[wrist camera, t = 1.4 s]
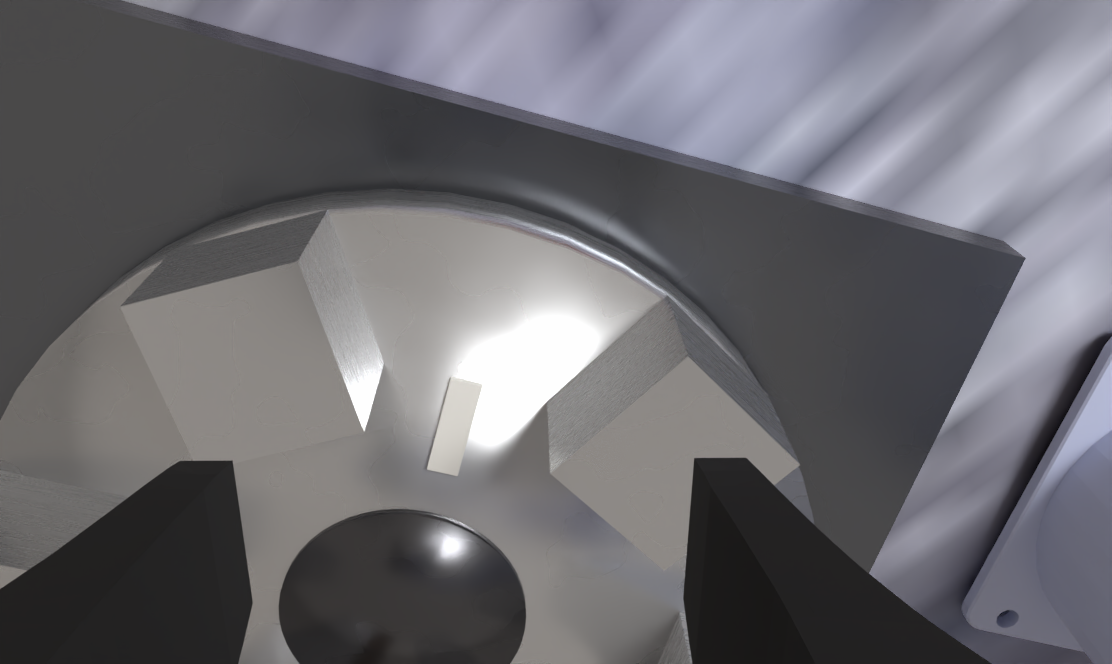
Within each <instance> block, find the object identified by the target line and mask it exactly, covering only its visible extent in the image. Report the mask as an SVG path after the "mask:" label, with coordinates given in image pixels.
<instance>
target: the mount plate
mask: <svg viewBox="0 0 1112 664" xmlns="http://www.w3.org/2000/svg"><path fill="white" fill-rule="evenodd" d="M374 189H403V190H419V191H434V192H449V193H455V194H460V195H465V196H470V197H476V198H481V199H486V200H491V201H496V202H501V203H507V204H511V205H514V206H517V207H520V208H523V209H526V210H529V211H532V212H535V213H538V214H541V215H544V216H547V217H550V218H553V219H556V220H560V221H563V222H566V223H568V224H570V225H572V226H574V227H576V228H578V229H580V230H582V231H585V232H587V233H589V234H591V235H593V236H595V237H597V238H599V239H601V240H603V241H606V242H608V243H610V244H612V245H614V246H616V247H618V248H620V249H621V250H623V251H624V252H626V253H627V254H629V255H630V256H632V257H633V258H635V259H637V260H638V261H640V262H641V263H643V264H644V265H646V266H647V267H649V268H650V269H652V270H653V271H655V272H657V273H658V274H660V275H661V276H663V277H664V278H665V279H667V280H668V281H669V282H670V283H671V284H672V285H674V286H675V287H676V288H677V289H678V290H679V291H681V292H682V293H683V294H684V295H685V296H686V297H687V298H689V299H690V300H691V301H692V302H693V303H694V304H696V305H697V306H698V307H699V308H700V309H701V310H703V311H704V312H705V313H706V314H707V315H708V317H709V318H710V319H711V320H712V321H713V322H714V323H715V325H716V326H717V327H718V328H719V329H720V330H721V332H722V333H723V334H724V335H725V336H726V337H727V338H728V340H729V341H730V342H731V343H732V344H733V345H734V346H735V348H736V349H737V350H738V351H739V353H740V354H741V356H742V357H743V359H744V360H745V362H746V363H747V365H748V367H749V368H750V370H751V371H752V373H753V374H754V376H755V377H756V379H757V381H758V382H759V384H760V385H761V387H762V388H763V390H764V391H765V392H766V393H767V394H768V396H769V399H770V401H771V403H772V405H773V407H774V409H775V411H776V414H777V416H778V418H779V420H780V422H781V424H782V426H783V429H784V431H785V433H786V435H787V437H788V439H789V442H790V444H791V446H792V448H793V450H794V452H795V454H796V457H797V459H798V461H799V463H800V465H799V468H800V471H801V473H802V476H803V480H804V484H805V488H806V491H807V495H808V499H809V503H810V507H811V510H812V514H813V518H814V525H815V526H816V527H817V528H818V529H819V530H820V531H821V532H822V533H824V534H825V535H826V536H827V537H828V538H829V539H830V540H831V541H832V542H833V543H834V544H835V545H837V546H838V547H839V548H840V549H841V550H842V551H843V552H844V553H846V554H847V555H848V556H849V557H850V558H851V559H852V560H853V561H855V562H856V563H857V564H858V565H859V566H860V567H862V568H863V569H864V570H865V571H866V572H867V573H869V572H870V570H871V568H872V566H873V564H874V562H875V560H876V558H877V556H878V554H879V552H880V550H881V548H882V546H883V544H884V542H885V540H886V538H887V536H888V534H889V532H890V530H891V528H892V526H893V524H894V522H895V520H896V517H897V515H898V513H899V511H900V509H901V507H902V505H903V503H904V501H905V499H906V497H907V495H908V493H909V491H910V489H911V487H912V485H913V483H914V481H915V479H916V477H917V475H918V473H919V471H920V469H921V467H922V465H923V463H924V461H925V459H926V457H927V455H928V453H929V451H930V449H931V447H932V445H933V443H934V441H935V439H936V437H937V435H938V433H939V431H940V429H941V427H942V425H943V423H944V421H945V419H946V417H947V415H948V413H949V411H950V409H951V407H952V405H953V403H954V401H955V399H956V397H957V395H958V393H959V391H960V389H961V387H962V385H963V383H964V381H965V379H966V377H967V375H968V373H969V371H970V369H971V367H972V365H973V363H974V361H975V359H976V357H977V355H978V353H979V351H980V349H981V347H982V345H983V343H984V341H985V339H986V337H987V335H988V333H989V331H990V329H991V327H992V325H993V323H994V321H995V319H996V317H997V315H998V313H999V311H1000V309H1001V306H1002V304H1003V302H1004V300H1005V298H1006V296H1007V294H1008V292H1009V290H1010V288H1011V286H1012V284H1013V282H1014V280H1015V278H1016V276H1017V274H1018V272H1019V270H1020V268H1021V266H1022V264H1023V262H1024V260H1025V257H1023V256H1022V255H1021V254H1019V253H1018V252H1017V251H1016V250H1014V249H1013V248H1012V247H1010V246H1009V245H1008V244H1006V243H1005V242H1004V241H1001V240H997V239H994V238H990V237H986V236H983V235H979V234H975V233H972V232H968V231H964V230H961V229H957V228H953V227H950V226H946V225H942V224H939V223H935V222H931V221H928V220H924V219H920V218H917V217H913V216H909V215H906V214H902V213H898V212H895V211H891V210H887V209H884V208H880V207H876V206H873V205H869V204H865V203H862V202H858V201H854V200H851V199H847V198H843V197H840V196H836V195H832V194H829V193H825V192H821V191H818V190H814V189H810V188H807V187H803V186H799V185H796V184H792V183H788V182H785V181H781V180H777V179H774V178H770V177H766V176H763V175H759V174H755V173H752V172H748V171H744V170H741V169H737V168H733V167H730V166H726V165H722V164H719V163H715V162H711V161H708V160H704V159H700V158H697V157H693V156H689V155H686V154H682V153H678V152H675V151H671V150H667V149H664V148H660V147H656V146H653V145H649V144H645V143H642V142H638V141H634V140H631V139H627V138H623V137H620V136H616V135H612V134H609V133H605V132H601V131H598V130H594V129H590V128H587V127H583V126H579V125H576V124H572V123H568V122H565V121H561V120H557V119H554V118H550V117H546V116H543V115H539V114H535V113H532V112H528V111H524V110H521V109H517V108H513V107H510V106H506V105H502V104H499V103H495V102H491V101H488V100H484V99H480V98H477V97H473V96H469V95H466V94H462V93H458V92H455V91H451V90H447V89H444V88H440V87H436V86H433V85H429V84H425V83H422V82H418V81H414V80H411V79H407V78H403V77H400V76H396V75H392V74H389V73H385V72H381V71H378V70H374V69H370V68H367V67H363V66H359V65H356V64H352V63H348V62H345V61H341V60H337V59H334V58H330V57H326V56H323V55H319V54H315V53H312V52H308V51H304V50H301V49H297V48H293V47H290V46H286V45H282V44H279V43H275V42H271V41H268V40H264V39H260V38H257V37H253V36H249V35H246V34H242V33H238V32H235V31H231V30H227V29H224V28H220V27H216V26H213V25H209V24H205V23H202V22H198V21H194V20H191V19H187V18H183V17H180V16H176V15H172V14H169V13H165V12H161V11H158V10H154V9H150V8H147V7H143V6H139V5H136V4H132V3H128V2H125V1H121V0H0V420H1V418H2V416H3V414H4V412H5V410H6V408H7V407H8V405H9V403H10V401H11V399H12V397H13V395H14V393H15V391H16V389H17V388H18V387H19V385H20V384H21V383H22V381H23V380H24V379H25V377H26V376H27V375H28V373H29V372H30V371H31V369H32V368H33V367H34V366H35V364H36V363H37V362H38V360H39V359H40V358H41V356H42V355H43V354H44V352H45V351H46V350H47V349H48V347H49V346H50V345H51V344H52V343H53V342H54V341H55V340H56V339H57V338H58V337H59V336H60V335H61V334H62V333H63V332H64V331H65V330H66V329H67V328H68V327H69V326H70V325H71V324H72V323H73V322H74V321H75V320H76V319H77V318H78V317H79V316H80V315H81V314H82V313H83V312H84V311H85V310H86V309H88V308H89V307H90V306H91V305H92V304H93V303H94V302H95V301H96V300H97V299H98V298H99V297H100V296H101V295H102V294H103V293H104V292H105V291H107V290H108V289H109V288H110V287H111V286H112V285H113V284H114V283H115V282H116V281H117V280H118V279H119V278H120V277H122V276H123V275H125V274H126V273H128V272H129V271H131V270H132V269H133V268H135V267H136V266H138V265H139V264H141V263H142V262H144V261H145V260H146V259H148V258H149V257H151V256H152V255H154V254H155V253H157V252H158V251H159V250H161V249H162V248H164V247H165V246H167V245H169V244H171V243H174V242H176V241H178V240H180V239H182V238H184V237H186V236H188V235H190V234H192V233H194V232H196V231H198V230H200V229H202V228H204V227H206V226H208V225H210V224H212V223H214V222H216V221H219V220H222V219H225V218H228V217H231V216H234V215H237V214H240V213H243V212H246V211H249V210H252V209H255V208H258V207H261V206H264V205H267V204H270V203H275V202H281V201H286V200H291V199H296V198H301V197H307V196H312V195H317V194H322V193H327V192H341V191H358V190H374Z"/></svg>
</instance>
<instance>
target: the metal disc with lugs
mask: <svg viewBox="0 0 1112 664" xmlns="http://www.w3.org/2000/svg"><path fill="white" fill-rule="evenodd" d="M694 458H747V459H748V460H749V461H750V462H751V463H752V464H753V465H754V466H755V467H756V468H757V469H758V470H759V471H760V472H761V473H762V474H763V475H764V476H765V477H766V478H767V479H768V480H769V481H770V482H771V483H772V484H773V485H774V486H775V487H776V488H777V489H778V490H779V491H780V492H781V493H782V494H783V495H784V496H785V497H786V498H787V499H788V500H789V501H790V502H791V503H792V504H793V505H794V506H795V507H796V508H797V509H798V510H799V511H800V512H801V513H803V514H804V515H805V516H806V517H807V518H808V519H809V520H810V521H811V522H812V523H813V524H814V518H813V514H812V510H811V507H810V503H809V499H808V495H807V491H806V488H805V484H804V480H803V476H802V473H801V471H800V468H799V465H800V463H799V461H798V459H797V457H796V454H795V452H794V450H793V448H792V446H791V444H790V442H789V439H788V437H787V435H786V433H785V431H784V429H783V426H782V424H781V422H780V420H779V418H778V416H777V414H776V411H775V409H774V407H773V405H772V403H771V401H770V399H769V396H768V394H767V393H766V392H765V391H764V390H763V388H762V387H761V385H760V384H759V382H758V381H757V379H756V377H755V376H754V374H753V373H752V371H751V370H750V368H749V367H748V365H747V363H746V362H745V360H744V359H743V357H742V356H741V354H740V353H739V351H738V350H737V349H736V348H735V346H734V345H733V344H732V343H731V342H730V341H729V340H728V338H727V337H726V336H725V335H724V334H723V333H722V332H721V330H720V329H719V328H718V327H717V326H716V325H715V323H714V322H713V321H712V320H711V319H710V318H709V317H708V315H707V314H706V313H705V312H704V311H703V310H701V309H700V308H699V307H698V306H697V305H696V304H694V303H693V302H692V301H691V300H690V299H689V298H687V297H686V296H685V295H684V294H683V293H682V292H681V291H679V290H678V289H677V288H676V287H675V286H674V285H672V284H671V283H670V282H669V281H668V280H667V279H665V278H664V277H663V276H661V275H660V274H658V273H657V272H655V271H653V270H652V269H650V268H649V267H647V266H646V265H644V264H643V263H641V262H640V261H638V260H637V259H635V258H633V257H632V256H630V255H629V254H627V253H626V252H624V251H623V250H621V249H620V248H618V247H616V246H614V245H612V244H610V243H608V242H606V241H603V240H601V239H599V238H597V237H595V236H593V235H591V234H589V233H587V232H585V231H582V230H580V229H578V228H576V227H574V226H572V225H570V224H568V223H566V222H563V221H560V220H556V219H553V218H550V217H547V216H544V215H541V214H538V213H535V212H532V211H529V210H526V209H523V208H520V207H517V206H514V205H511V204H507V203H501V202H496V201H491V200H486V199H481V198H476V197H470V196H465V195H460V194H455V193H449V192H434V191H419V190H403V189H374V190H358V191H341V192H327V193H322V194H317V195H312V196H307V197H301V198H296V199H291V200H286V201H281V202H275V203H270V204H267V205H264V206H261V207H258V208H255V209H252V210H249V211H246V212H243V213H240V214H237V215H234V216H231V217H228V218H225V219H222V220H219V221H216V222H214V223H212V224H210V225H208V226H206V227H204V228H202V229H200V230H198V231H196V232H194V233H192V234H190V235H188V236H186V237H184V238H182V239H180V240H178V241H176V242H174V243H171V244H169V245H167V246H165V247H164V248H162V249H161V250H159V251H158V252H157V253H155V254H154V255H152V256H151V257H149V258H148V259H146V260H145V261H144V262H142V263H141V264H139V265H138V266H136V267H135V268H133V269H132V270H131V271H129V272H128V273H126V274H125V275H123V276H122V277H120V278H119V279H118V280H117V281H116V282H115V283H114V284H113V285H112V286H111V287H110V288H109V289H108V290H107V291H105V292H104V293H103V294H102V295H101V296H100V297H99V298H98V299H97V300H96V301H95V302H94V303H93V304H92V305H91V306H90V307H89V308H88V309H86V310H85V311H84V312H83V313H82V314H81V315H80V316H79V317H78V318H77V319H76V320H75V321H74V322H73V323H72V324H71V325H70V326H69V327H68V328H67V329H66V330H65V331H64V332H63V333H62V334H61V335H60V336H59V337H58V338H57V339H56V340H55V341H54V342H53V343H52V344H51V345H50V346H49V347H48V349H47V350H46V351H45V352H44V354H43V355H42V356H41V358H40V359H39V360H38V362H37V363H36V364H35V366H34V367H33V368H32V369H31V371H30V372H29V373H28V375H27V376H26V377H25V379H24V380H23V381H22V383H21V384H20V385H19V387H18V388H17V389H16V391H15V393H14V395H13V397H12V399H11V401H10V403H9V405H8V407H7V408H6V410H5V412H4V414H3V416H2V418H1V420H0V589H1V588H2V587H4V586H5V585H7V584H8V583H10V582H11V581H13V580H14V579H16V578H17V577H19V576H20V575H22V574H23V573H25V572H26V571H28V570H29V569H30V568H32V567H33V566H35V565H36V564H38V563H39V562H41V561H42V560H44V559H45V558H47V557H48V556H50V555H51V554H52V553H54V552H55V551H57V550H58V549H59V548H61V547H62V546H63V545H65V544H66V543H68V542H69V541H70V540H72V539H73V538H74V537H76V536H77V535H78V534H80V533H81V532H82V531H84V530H85V529H87V528H88V527H89V526H91V525H92V524H93V523H95V522H96V521H97V520H99V519H100V518H101V517H103V516H104V515H106V514H107V513H108V512H110V511H111V510H112V509H113V508H115V507H116V506H117V505H119V504H120V503H121V502H123V501H124V500H125V499H127V498H128V497H129V496H131V495H132V494H133V493H135V492H136V491H137V490H139V489H140V488H141V487H143V486H144V485H145V484H147V483H148V482H149V481H151V480H152V479H154V478H155V477H156V476H158V475H159V474H161V473H162V472H163V471H165V470H166V469H168V468H169V467H171V466H172V465H174V464H175V463H177V462H179V461H233V467H234V474H235V481H236V488H237V495H238V502H239V509H240V516H241V523H242V530H243V537H244V544H245V551H246V558H247V565H248V572H249V579H250V586H251V593H252V600H253V604H252V609H251V613H250V617H249V622H248V626H247V630H246V634H245V639H244V643H243V647H242V651H241V655H240V659H239V662H238V664H692V658H691V651H690V645H689V638H688V630H687V623H686V616H685V609H684V601H683V594H684V581H685V568H686V556H687V543H688V530H689V517H690V505H691V492H692V479H693V467H694Z"/></svg>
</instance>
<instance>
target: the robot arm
mask: <svg viewBox="0 0 1112 664" xmlns="http://www.w3.org/2000/svg"><path fill="white" fill-rule="evenodd" d="M683 601H684V609H685V616H686V623H687V630H688V638H689V645H690V651H691V658H692V664H991V663H990V662H988V661H987V660H985V659H983V658H982V657H981V656H979V655H978V654H976V653H975V652H973V651H972V650H970V649H969V648H967V647H966V646H964V645H963V644H961V643H960V642H959V641H957V640H956V639H954V638H953V637H951V636H950V635H948V634H947V633H945V632H944V631H942V630H941V629H939V628H938V627H937V626H935V625H934V624H932V623H931V622H930V621H928V620H927V619H926V618H924V617H923V616H922V615H920V614H919V613H917V612H916V611H915V610H913V609H912V608H911V607H910V606H908V605H907V604H906V603H904V602H903V601H902V600H901V599H900V598H898V597H897V596H896V595H895V594H893V593H892V592H891V591H890V590H888V589H887V588H886V587H885V586H883V585H882V584H881V583H880V582H878V581H877V580H876V579H875V578H873V577H872V576H871V575H870V574H869V573H867V572H866V571H865V570H864V569H863V568H862V567H860V566H859V565H858V564H857V563H856V562H855V561H853V560H852V559H851V558H850V557H849V556H848V555H847V554H846V553H844V552H843V551H842V550H841V549H840V548H839V547H838V546H837V545H835V544H834V543H833V542H832V541H831V540H830V539H829V538H828V537H827V536H826V535H825V534H824V533H822V532H821V531H820V530H819V529H818V528H817V527H816V526H815V525H814V524H813V523H812V522H811V521H810V520H809V519H808V518H807V517H806V516H805V515H804V514H803V513H801V512H800V511H799V510H798V509H797V508H796V507H795V506H794V505H793V504H792V503H791V502H790V501H789V500H788V499H787V498H786V497H785V496H784V495H783V494H782V493H781V492H780V491H779V490H778V489H777V488H776V487H775V486H774V485H773V484H772V483H771V482H770V481H769V480H768V479H767V478H766V477H765V476H764V475H763V474H762V473H761V472H760V471H759V470H758V469H757V468H756V467H755V466H754V465H753V464H752V463H751V462H750V461H749V460H748V459H747V458H694V467H693V479H692V492H691V505H690V517H689V530H688V543H687V556H686V568H685V581H684V594H683ZM252 604H253V600H252V593H251V586H250V579H249V572H248V565H247V558H246V551H245V544H244V537H243V530H242V523H241V516H240V509H239V502H238V495H237V488H236V481H235V474H234V467H233V461H179V462H177V463H175V464H174V465H172V466H171V467H169V468H168V469H166V470H165V471H163V472H162V473H161V474H159V475H158V476H156V477H155V478H154V479H152V480H151V481H149V482H148V483H147V484H145V485H144V486H143V487H141V488H140V489H139V490H137V491H136V492H135V493H133V494H132V495H131V496H129V497H128V498H127V499H125V500H124V501H123V502H121V503H120V504H119V505H117V506H116V507H115V508H113V509H112V510H111V511H110V512H108V513H107V514H106V515H104V516H103V517H101V518H100V519H99V520H97V521H96V522H95V523H93V524H92V525H91V526H89V527H88V528H87V529H85V530H84V531H82V532H81V533H80V534H78V535H77V536H76V537H74V538H73V539H72V540H70V541H69V542H68V543H66V544H65V545H63V546H62V547H61V548H59V549H58V550H57V551H55V552H54V553H52V554H51V555H50V556H48V557H47V558H45V559H44V560H42V561H41V562H39V563H38V564H36V565H35V566H33V567H32V568H30V569H29V570H28V571H26V572H25V573H23V574H22V575H20V576H19V577H17V578H16V579H14V580H13V581H11V582H10V583H8V584H7V585H5V586H4V587H2V588H1V589H0V664H238V662H239V659H240V655H241V651H242V647H243V643H244V639H245V634H246V630H247V626H248V622H249V617H250V613H251V609H252ZM1006 610H1010V611H1009V612H1008V613H1007V614H1006V615H1003V616H999V615H1000V613H1002V612H1004V611H1006ZM962 612H963V615H964V617H965V618H966V620H967V622H968V623H969V624H970V625H971V626H972V627H973V628H976V629H978V630H983V631H987V632H992V633H997V634H1001V635H1006V636H1011V637H1015V638H1020V639H1025V640H1029V641H1034V642H1039V643H1043V644H1048V645H1053V646H1057V647H1062V648H1067V649H1072V650H1076V651H1081V652H1085V653H1086V655H1087V656H1088V657H1089V659H1090V660H1091V661H1092V663H1093V664H1112V337H1111V338H1110V339H1109V340H1108V342H1107V343H1106V344H1105V346H1104V347H1103V349H1102V351H1101V353H1100V355H1099V356H1098V358H1097V360H1096V362H1095V364H1094V366H1093V367H1092V369H1091V371H1090V373H1089V375H1088V376H1087V378H1086V380H1085V382H1084V384H1083V385H1082V387H1081V389H1080V391H1079V393H1078V395H1077V396H1076V398H1075V400H1074V402H1073V404H1072V405H1071V407H1070V409H1069V411H1068V413H1067V414H1066V416H1065V418H1064V420H1063V422H1062V424H1061V425H1060V427H1059V429H1058V431H1057V433H1056V434H1055V436H1054V438H1053V440H1052V442H1051V443H1050V445H1049V447H1048V449H1047V451H1046V452H1045V454H1044V456H1043V458H1042V460H1041V462H1040V463H1039V465H1038V467H1037V469H1036V471H1035V472H1034V474H1033V476H1032V478H1031V480H1030V481H1029V483H1028V485H1027V487H1026V489H1025V491H1024V492H1023V494H1022V496H1021V498H1020V500H1019V501H1018V503H1017V505H1016V507H1015V509H1014V510H1013V512H1012V514H1011V516H1010V518H1009V519H1008V521H1007V523H1006V525H1005V527H1004V529H1003V530H1002V532H1001V534H1000V536H999V538H998V539H997V541H996V543H995V545H994V547H993V548H992V550H991V552H990V554H989V556H988V558H987V559H986V561H985V563H984V565H983V567H982V568H981V570H980V572H979V574H978V576H977V577H976V579H975V581H974V583H973V585H972V586H971V588H970V590H969V592H968V594H967V596H966V597H965V599H964V601H963V604H962Z"/></svg>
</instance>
